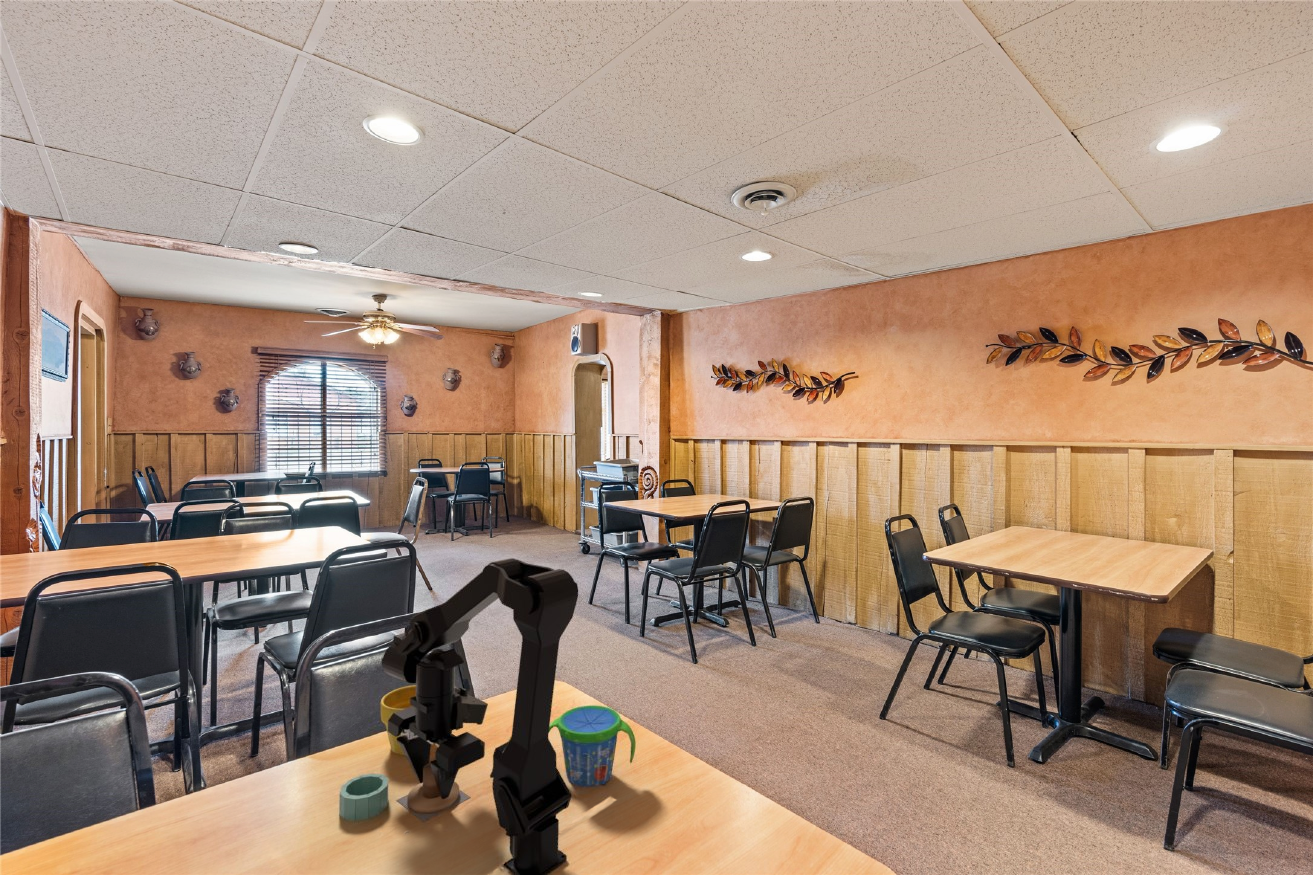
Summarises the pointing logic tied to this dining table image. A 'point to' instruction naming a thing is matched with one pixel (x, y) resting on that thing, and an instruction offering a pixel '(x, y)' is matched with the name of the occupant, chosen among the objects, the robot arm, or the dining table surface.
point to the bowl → (363, 797)
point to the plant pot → (396, 710)
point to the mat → (427, 816)
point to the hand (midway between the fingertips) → (433, 789)
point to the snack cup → (590, 743)
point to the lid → (430, 795)
